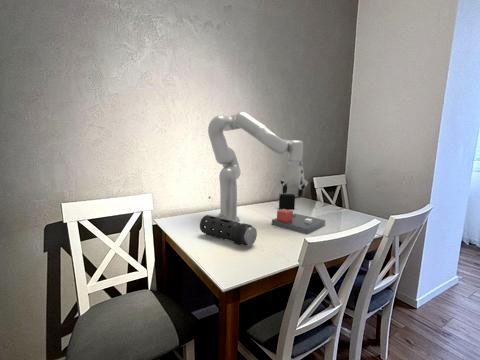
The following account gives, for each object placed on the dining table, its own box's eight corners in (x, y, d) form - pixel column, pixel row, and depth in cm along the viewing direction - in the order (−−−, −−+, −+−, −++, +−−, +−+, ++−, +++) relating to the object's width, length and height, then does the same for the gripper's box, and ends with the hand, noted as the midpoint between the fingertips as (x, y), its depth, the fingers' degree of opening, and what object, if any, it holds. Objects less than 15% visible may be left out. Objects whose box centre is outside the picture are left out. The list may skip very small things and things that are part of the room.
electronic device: (294, 209, 195) (295, 195, 193) (279, 209, 195) (280, 194, 193) (293, 208, 199) (294, 193, 197) (278, 207, 199) (279, 193, 197)
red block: (286, 222, 158) (286, 213, 157) (276, 219, 162) (277, 210, 161) (292, 219, 163) (292, 210, 162) (283, 217, 167) (283, 208, 166)
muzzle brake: (212, 232, 150) (212, 212, 148) (257, 245, 134) (258, 223, 132) (199, 237, 143) (199, 216, 141) (245, 251, 126) (245, 228, 124)
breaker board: (307, 234, 148) (307, 226, 147) (271, 224, 163) (272, 217, 162) (325, 225, 163) (325, 218, 162) (291, 217, 177) (291, 210, 177)
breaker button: (309, 227, 157) (309, 220, 156) (304, 226, 159) (304, 219, 158) (312, 226, 159) (312, 219, 158) (307, 225, 161) (307, 218, 160)
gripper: (312, 165, 153) (309, 196, 156) (284, 161, 164) (282, 191, 167) (305, 165, 148) (302, 198, 150) (277, 162, 159) (275, 192, 162)
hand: (292, 194), depth 159 cm, fingers open, 9 cm apart
